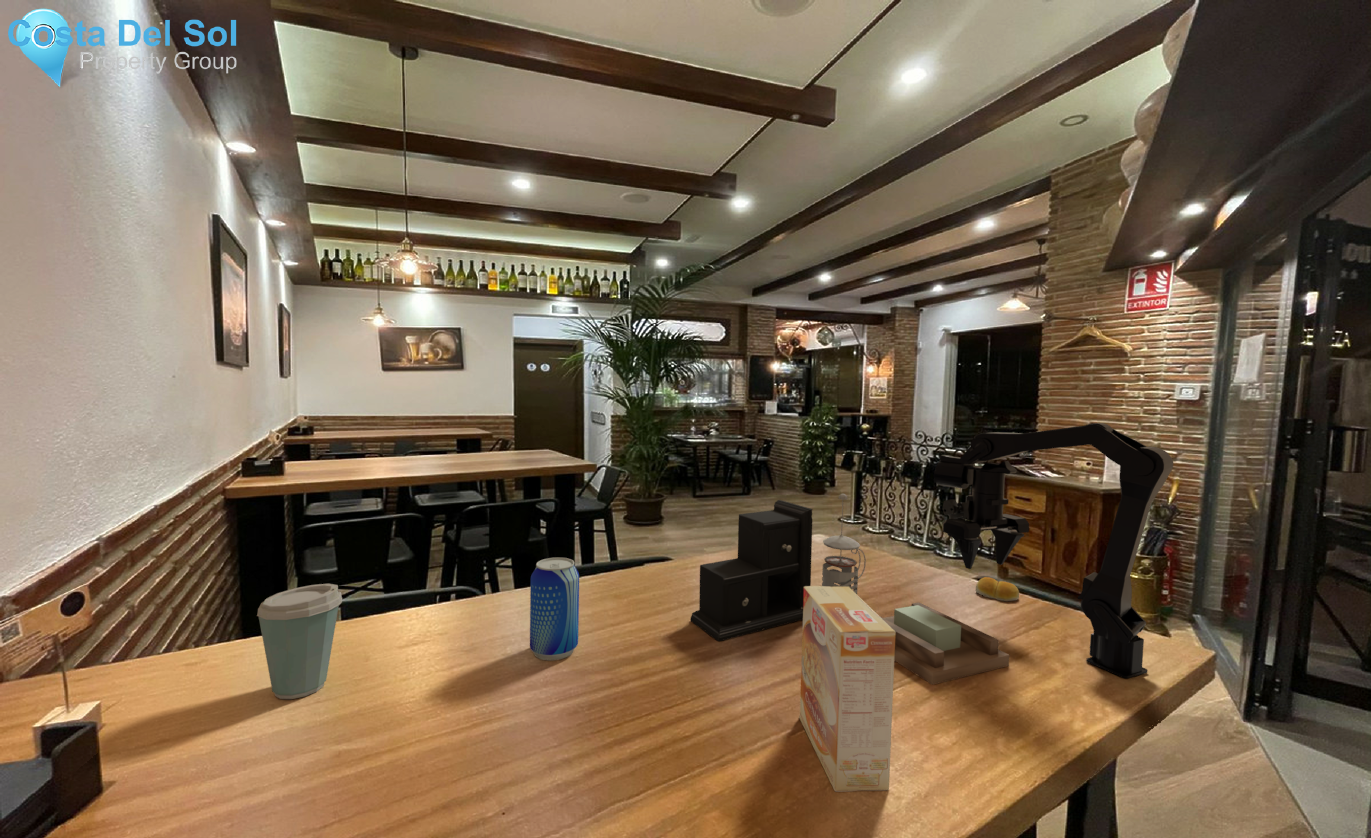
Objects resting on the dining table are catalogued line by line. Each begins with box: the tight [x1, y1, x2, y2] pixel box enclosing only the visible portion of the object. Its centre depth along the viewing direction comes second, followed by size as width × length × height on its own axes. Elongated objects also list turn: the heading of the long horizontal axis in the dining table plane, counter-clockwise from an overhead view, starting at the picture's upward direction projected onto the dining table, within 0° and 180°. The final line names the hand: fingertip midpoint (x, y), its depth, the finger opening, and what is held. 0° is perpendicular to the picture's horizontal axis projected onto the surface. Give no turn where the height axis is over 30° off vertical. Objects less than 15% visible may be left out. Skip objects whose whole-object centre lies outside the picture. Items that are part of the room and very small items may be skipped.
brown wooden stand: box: [880, 602, 1010, 685], centre depth 100 cm, size 20×18×4 cm
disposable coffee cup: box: [256, 583, 343, 700], centre depth 82 cm, size 11×11×15 cm
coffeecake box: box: [798, 585, 896, 793], centre depth 70 cm, size 15×7×20 cm, turn 4°
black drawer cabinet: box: [690, 499, 813, 642], centre depth 111 cm, size 23×11×24 cm, turn 120°
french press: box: [821, 493, 867, 595], centre depth 122 cm, size 10×12×25 cm
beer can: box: [529, 557, 580, 662], centre depth 95 cm, size 8×8×16 cm
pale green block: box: [893, 605, 961, 651], centre depth 100 cm, size 10×6×4 cm, turn 22°
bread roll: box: [975, 576, 1020, 602], centre depth 129 cm, size 8×9×4 cm
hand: (984, 566), depth 112 cm, fingers open, 9 cm apart
